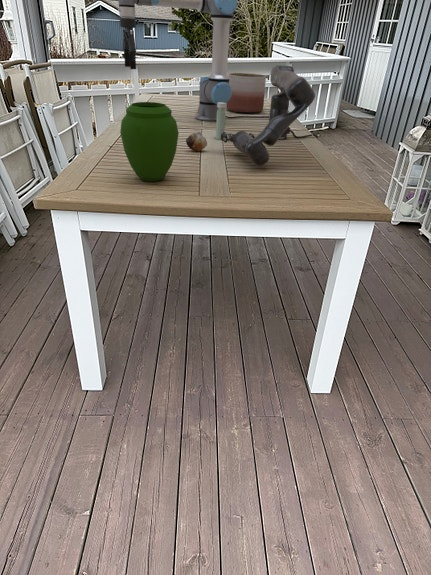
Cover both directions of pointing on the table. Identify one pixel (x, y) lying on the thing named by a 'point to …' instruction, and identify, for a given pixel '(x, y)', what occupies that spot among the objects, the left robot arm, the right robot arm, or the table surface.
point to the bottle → (220, 122)
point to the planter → (246, 92)
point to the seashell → (196, 141)
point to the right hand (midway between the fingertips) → (233, 134)
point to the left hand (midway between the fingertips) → (130, 68)
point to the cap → (221, 105)
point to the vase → (149, 139)
